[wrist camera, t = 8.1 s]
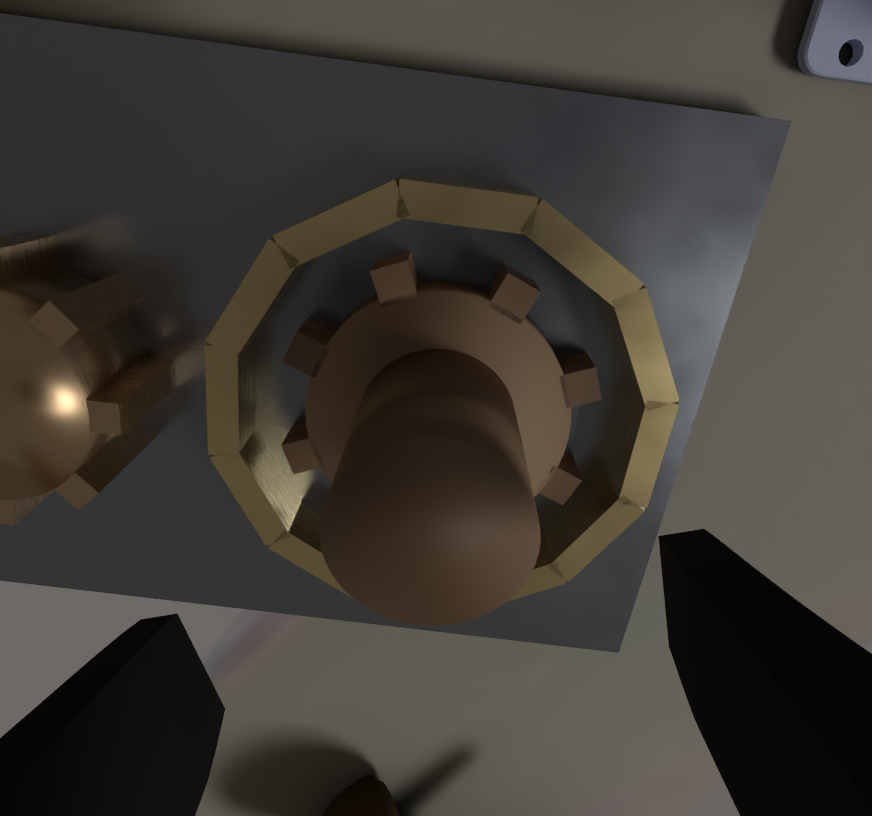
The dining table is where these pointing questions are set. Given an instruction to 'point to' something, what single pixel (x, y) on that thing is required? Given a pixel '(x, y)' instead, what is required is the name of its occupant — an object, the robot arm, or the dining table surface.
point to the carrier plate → (331, 302)
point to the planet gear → (436, 441)
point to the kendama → (364, 800)
